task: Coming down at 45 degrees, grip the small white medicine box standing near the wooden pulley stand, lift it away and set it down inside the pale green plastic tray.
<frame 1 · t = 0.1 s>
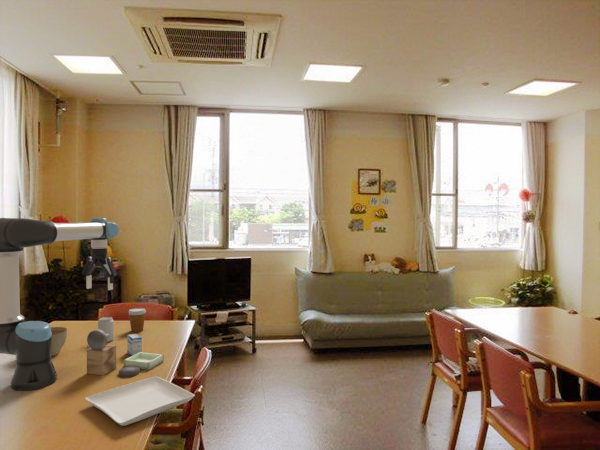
hand: (99, 289, 213), 28 cm above the table, tool pointing down, fingers open, 13 cm apart
tray: (144, 364, 184), on the table
medicine box: (134, 354, 197), on the table
can: (106, 341, 217), on the table
pulley stand: (101, 370, 176), on the table
planter bowl: (48, 354, 197), on the table
disposable coffee cup: (137, 330, 237), on the table
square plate: (140, 406, 144), on the table
dark grey round puck: (129, 373, 173), on the table
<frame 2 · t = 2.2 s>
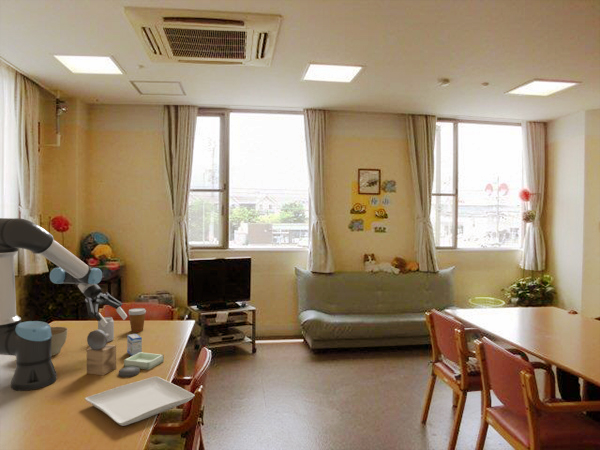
hand: (115, 321, 200), 15 cm above the table, tool tilted 45°, fingers open, 13 cm apart
nothing on the table moved.
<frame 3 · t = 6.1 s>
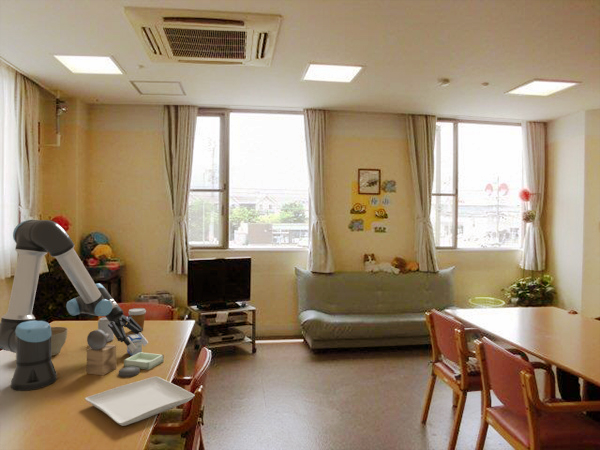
hand: (140, 346, 196), 4 cm above the table, tool tilted 45°, fingers closed on medicine box, 8 cm apart
medicine box: (134, 354, 197), on the table, touching gripper
everything else where it was.
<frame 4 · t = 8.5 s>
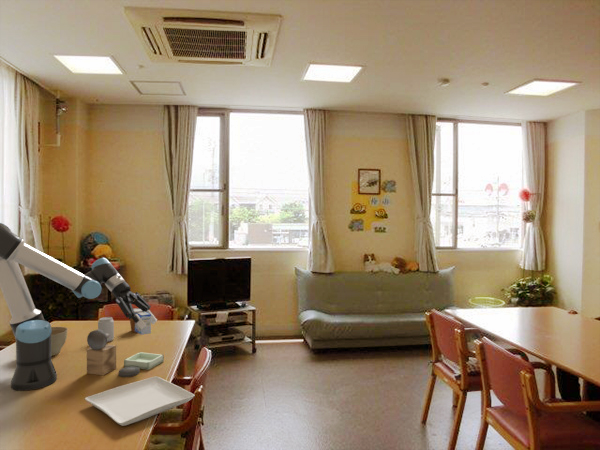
hand: (149, 324, 184), 17 cm above the table, tool tilted 45°, fingers closed on medicine box, 8 cm apart
medicine box: (142, 332, 185), point 13 cm above the table, touching gripper
everything else where it was.
when the fingers open (6 cm above the table, at t = 11.2 s): medicine box drops 1 cm, resting on tray.
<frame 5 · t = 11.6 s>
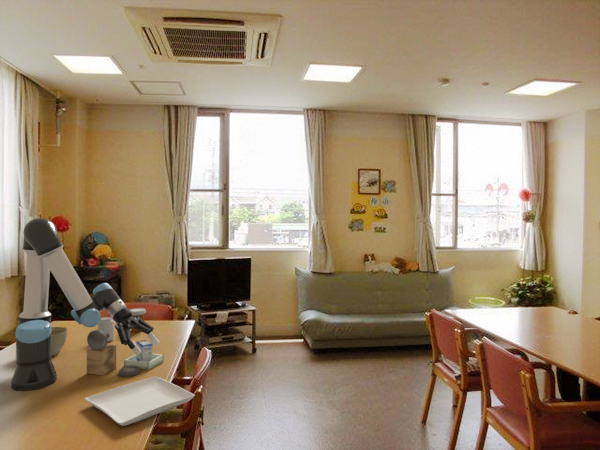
hand: (148, 348, 183), 7 cm above the table, tool tilted 45°, fingers open, 12 cm apart
medicine box: (144, 362, 184), point 1 cm above the table, touching tray
everything else where it was.
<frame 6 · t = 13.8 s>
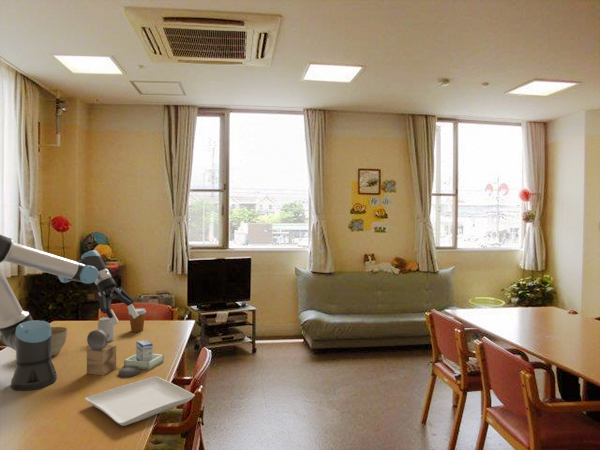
hand: (126, 320, 189), 18 cm above the table, tool tilted 35°, fingers open, 13 cm apart
nothing on the table moved.
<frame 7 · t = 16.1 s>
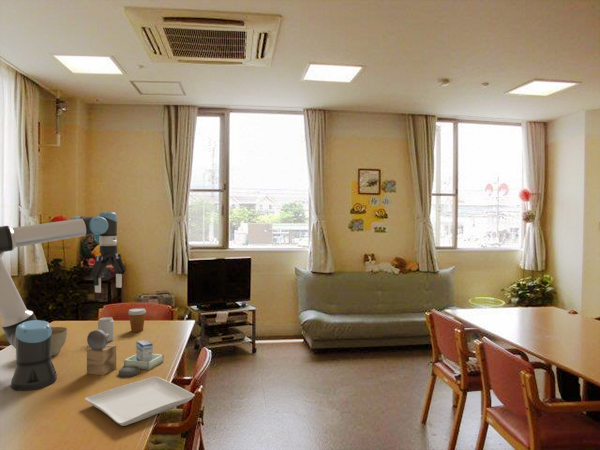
hand: (108, 289, 196), 31 cm above the table, tool pointing down, fingers open, 13 cm apart
nothing on the table moved.
at the end: medicine box inside the target area on the tray (0.1 cm from its centre), point 0.8 cm above the tray's base; the gripper is holding nothing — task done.
